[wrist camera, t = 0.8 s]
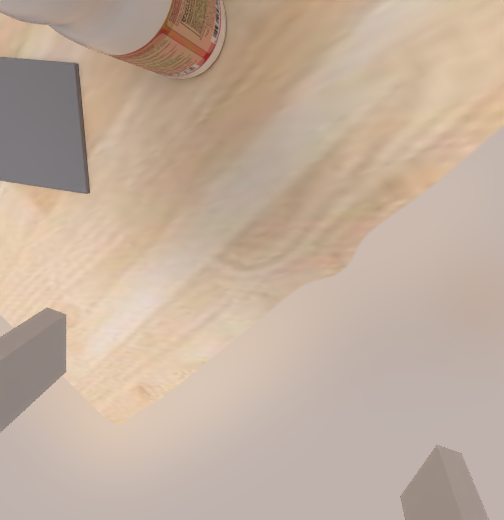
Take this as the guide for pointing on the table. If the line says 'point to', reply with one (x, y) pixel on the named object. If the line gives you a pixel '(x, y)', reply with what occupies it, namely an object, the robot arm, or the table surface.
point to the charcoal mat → (42, 125)
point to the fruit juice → (136, 29)
